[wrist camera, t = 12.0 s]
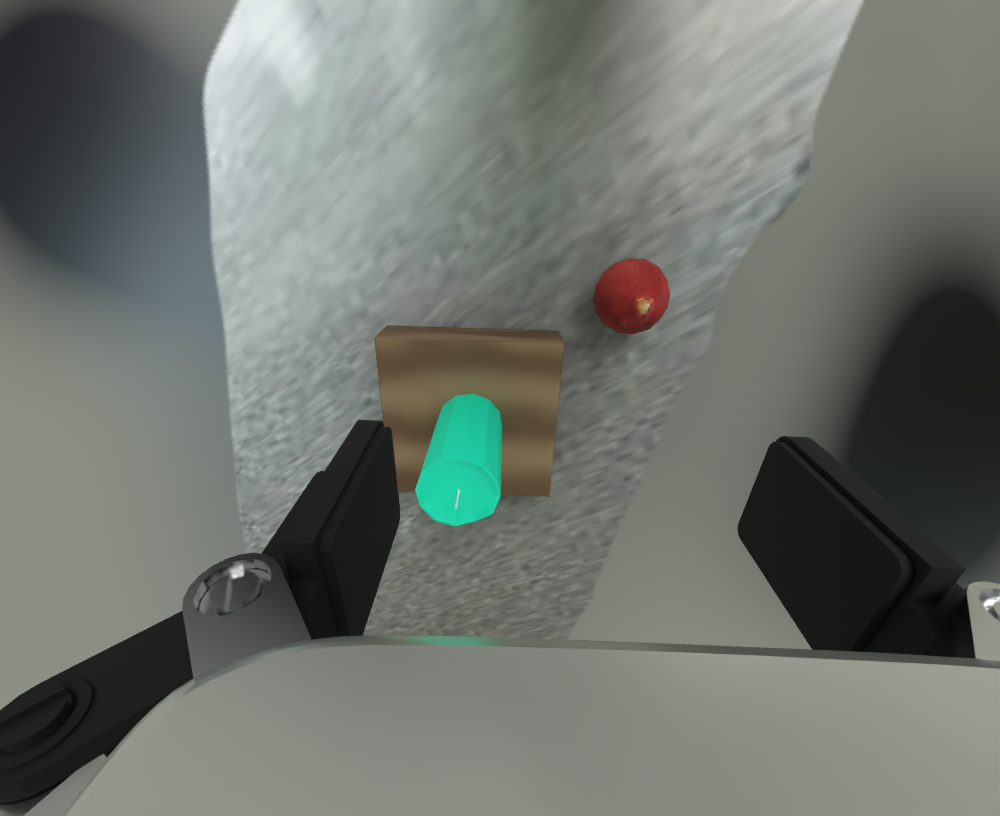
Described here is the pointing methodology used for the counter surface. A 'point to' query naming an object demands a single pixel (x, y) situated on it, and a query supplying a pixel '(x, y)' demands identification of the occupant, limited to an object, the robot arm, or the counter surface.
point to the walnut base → (473, 370)
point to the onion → (631, 296)
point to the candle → (463, 462)
